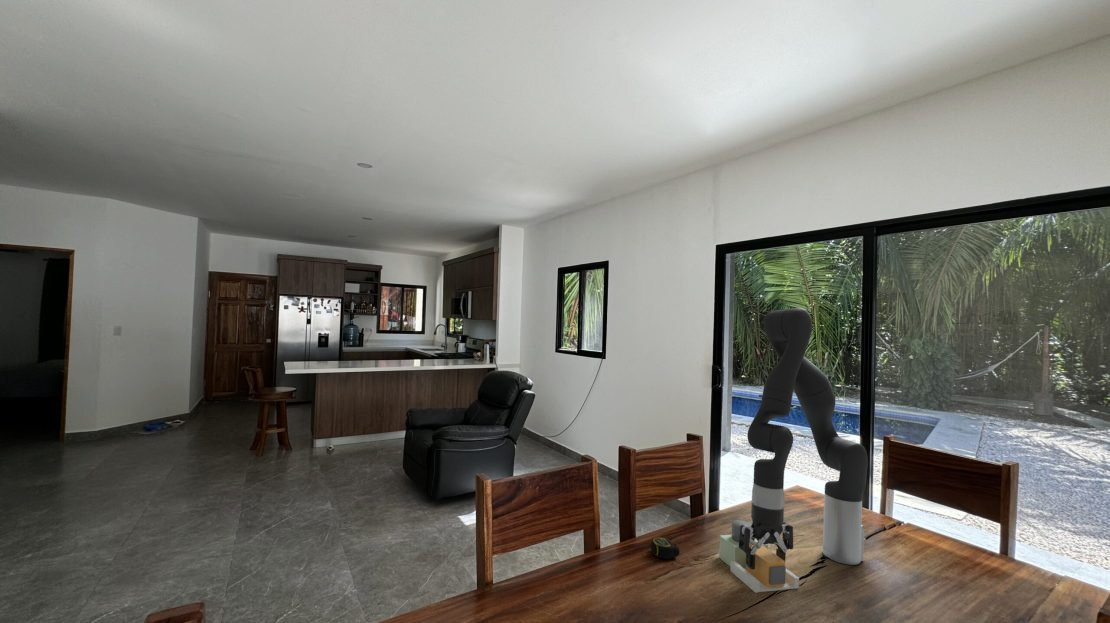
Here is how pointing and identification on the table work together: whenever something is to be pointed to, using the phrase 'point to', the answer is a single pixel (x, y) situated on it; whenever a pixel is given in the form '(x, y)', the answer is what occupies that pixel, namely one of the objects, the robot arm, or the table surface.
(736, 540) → the green stand
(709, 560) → the table surface
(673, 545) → the tape measure
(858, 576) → the table surface
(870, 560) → the table surface
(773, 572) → the tall mustard block
